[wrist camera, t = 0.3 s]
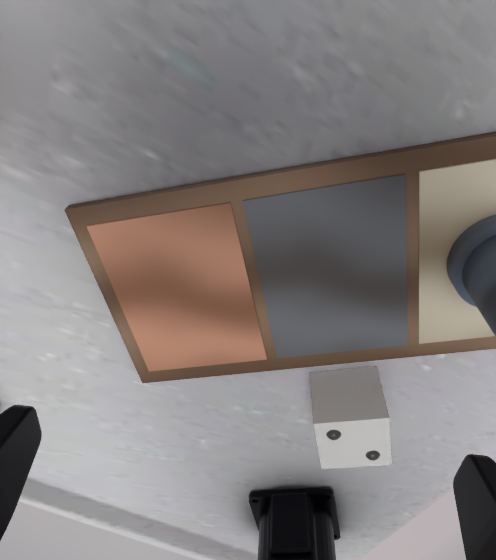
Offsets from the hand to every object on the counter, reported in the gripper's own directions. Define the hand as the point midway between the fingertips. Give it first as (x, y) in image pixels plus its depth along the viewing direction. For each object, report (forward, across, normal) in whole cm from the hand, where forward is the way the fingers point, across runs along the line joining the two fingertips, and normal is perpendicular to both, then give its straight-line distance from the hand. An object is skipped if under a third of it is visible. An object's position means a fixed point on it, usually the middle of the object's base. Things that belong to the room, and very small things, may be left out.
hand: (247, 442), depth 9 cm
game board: (+14, -4, +4) cm, 15 cm away
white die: (+14, -6, +13) cm, 20 cm away
